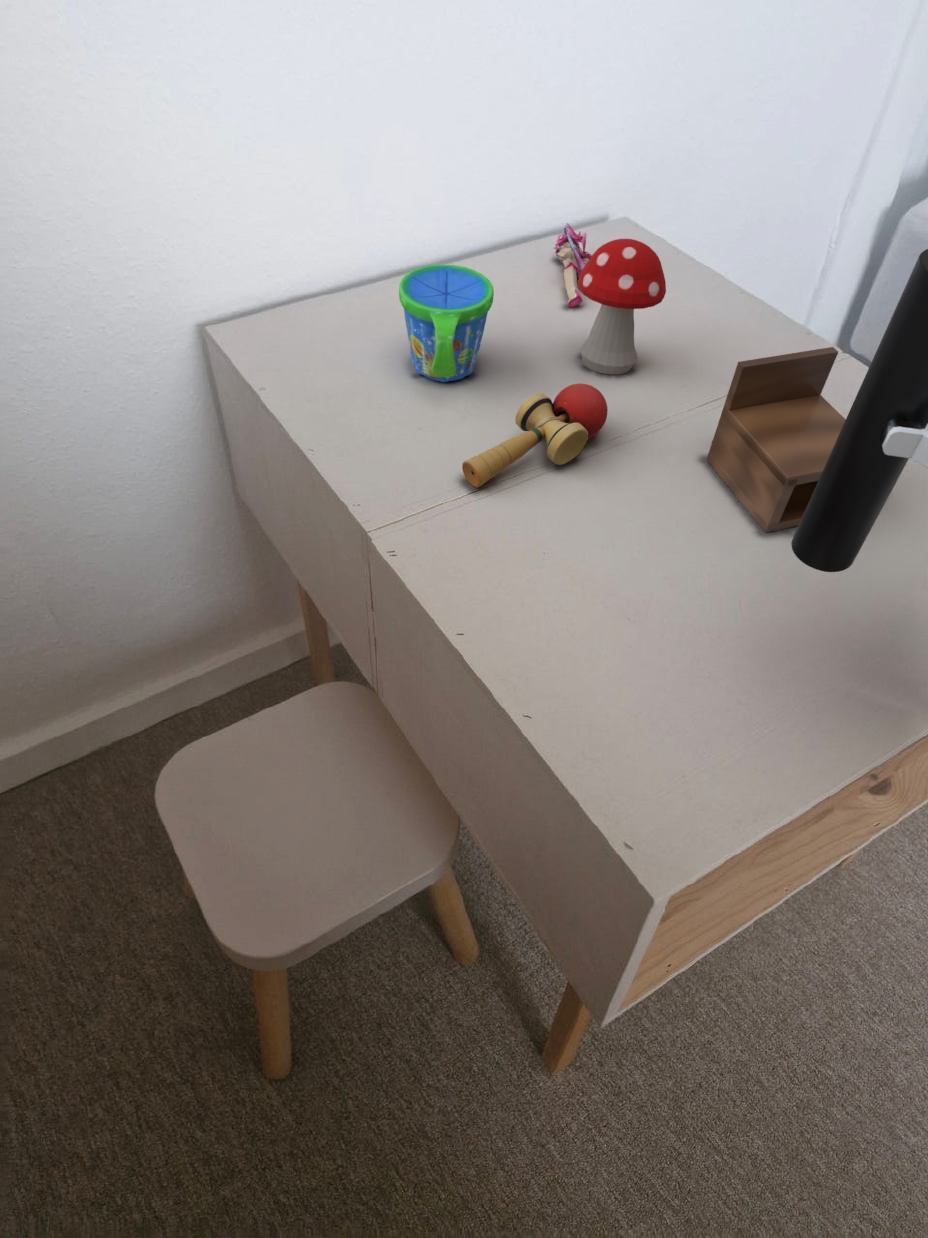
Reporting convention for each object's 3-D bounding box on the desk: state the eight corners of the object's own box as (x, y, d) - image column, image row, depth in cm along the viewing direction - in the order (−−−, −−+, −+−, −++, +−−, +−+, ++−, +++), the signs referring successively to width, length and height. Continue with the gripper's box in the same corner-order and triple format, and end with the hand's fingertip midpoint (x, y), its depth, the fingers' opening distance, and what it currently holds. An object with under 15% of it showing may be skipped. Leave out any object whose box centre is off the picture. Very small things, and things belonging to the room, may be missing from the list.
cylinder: (858, 576, 62) (1017, 289, 45) (794, 568, 62) (928, 279, 46) (849, 534, 65) (994, 250, 48) (788, 526, 65) (911, 241, 49)
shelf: (857, 512, 87) (909, 414, 78) (765, 532, 84) (807, 433, 75) (792, 443, 94) (832, 346, 85) (706, 459, 92) (737, 361, 83)
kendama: (501, 518, 86) (627, 435, 92) (491, 467, 81) (624, 383, 87) (455, 488, 91) (577, 411, 97) (443, 439, 86) (572, 361, 92)
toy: (581, 326, 114) (562, 266, 123) (619, 303, 112) (597, 244, 121) (556, 285, 109) (537, 226, 118) (596, 261, 107) (574, 202, 116)
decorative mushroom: (560, 375, 101) (579, 251, 90) (572, 338, 107) (590, 218, 95) (643, 389, 100) (673, 266, 89) (650, 351, 105) (679, 231, 94)
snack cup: (481, 409, 96) (487, 327, 88) (389, 400, 96) (387, 317, 89) (493, 337, 106) (499, 257, 99) (410, 328, 107) (410, 249, 99)
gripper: (1083, 308, 57) (874, 283, 58) (1204, 503, 44) (929, 466, 45) (1033, 388, 62) (840, 364, 63) (1128, 586, 49) (881, 551, 50)
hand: (877, 408), depth 54 cm, fingers closed on cylinder, 4 cm apart
